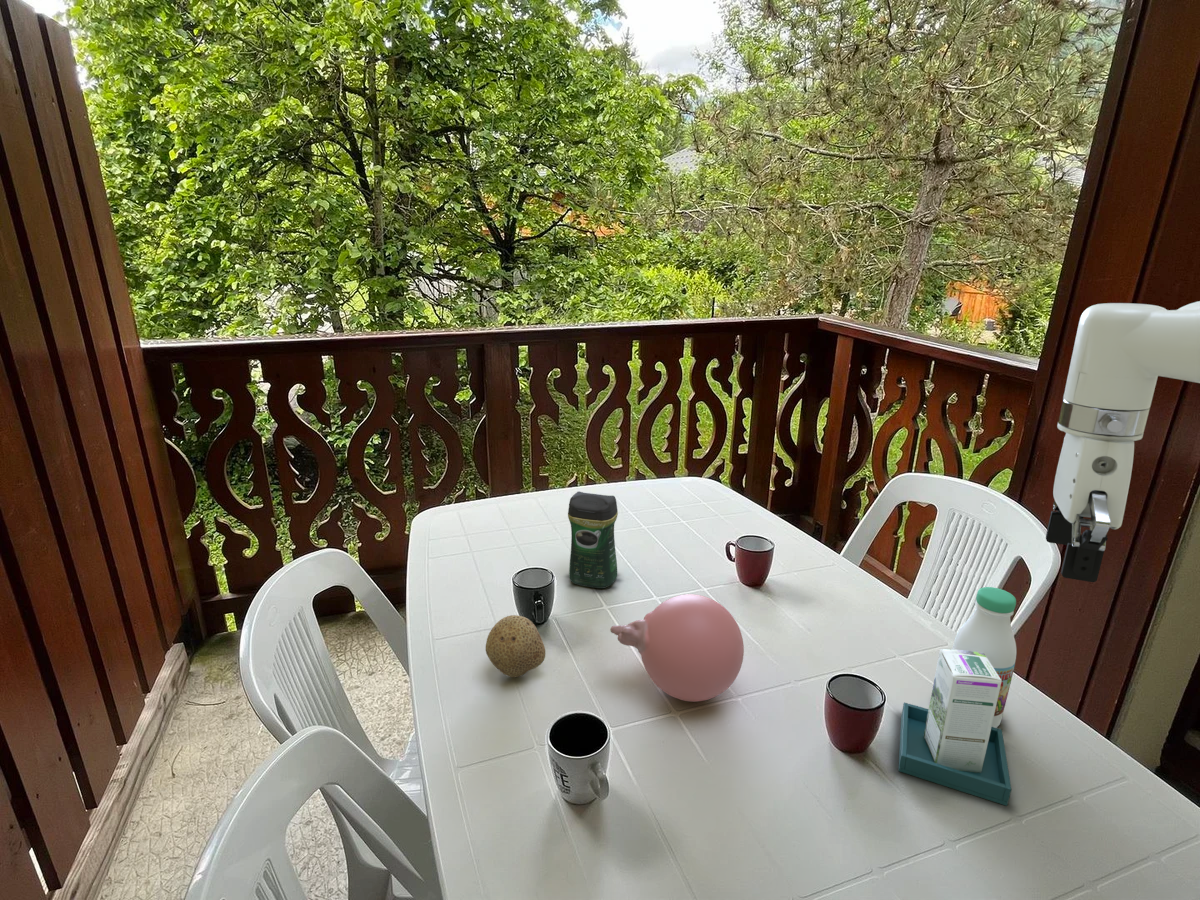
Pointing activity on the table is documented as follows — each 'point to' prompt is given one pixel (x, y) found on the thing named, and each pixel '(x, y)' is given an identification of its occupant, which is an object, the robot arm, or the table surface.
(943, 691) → the syrup box
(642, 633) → the balloon
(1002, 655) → the milk bottle
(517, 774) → the table surface
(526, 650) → the natural sponge
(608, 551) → the coffee jar
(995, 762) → the tray
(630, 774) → the table surface
